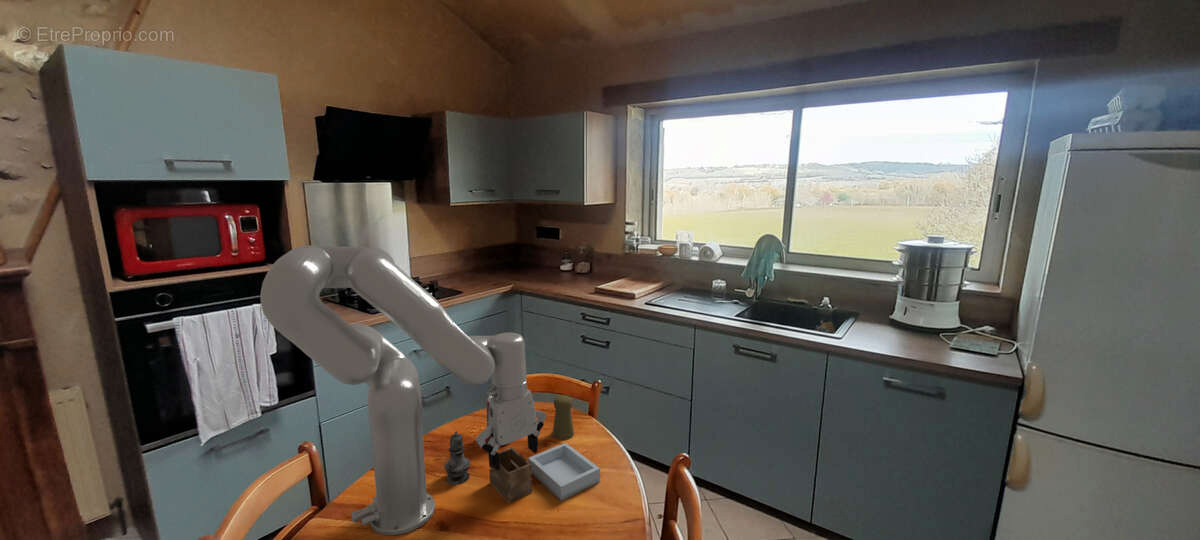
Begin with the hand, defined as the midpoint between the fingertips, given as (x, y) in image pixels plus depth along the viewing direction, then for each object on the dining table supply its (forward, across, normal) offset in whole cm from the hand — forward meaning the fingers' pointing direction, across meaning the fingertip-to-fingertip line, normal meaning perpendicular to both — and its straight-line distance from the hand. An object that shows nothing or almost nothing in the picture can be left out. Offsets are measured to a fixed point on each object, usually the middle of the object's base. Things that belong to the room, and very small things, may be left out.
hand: (514, 458), depth 107 cm
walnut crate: (+7, -1, 0) cm, 7 cm away
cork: (+8, +22, +12) cm, 26 cm away
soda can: (+7, +7, +20) cm, 23 cm away
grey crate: (+7, +11, -4) cm, 14 cm away
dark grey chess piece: (+7, -9, +11) cm, 16 cm away
